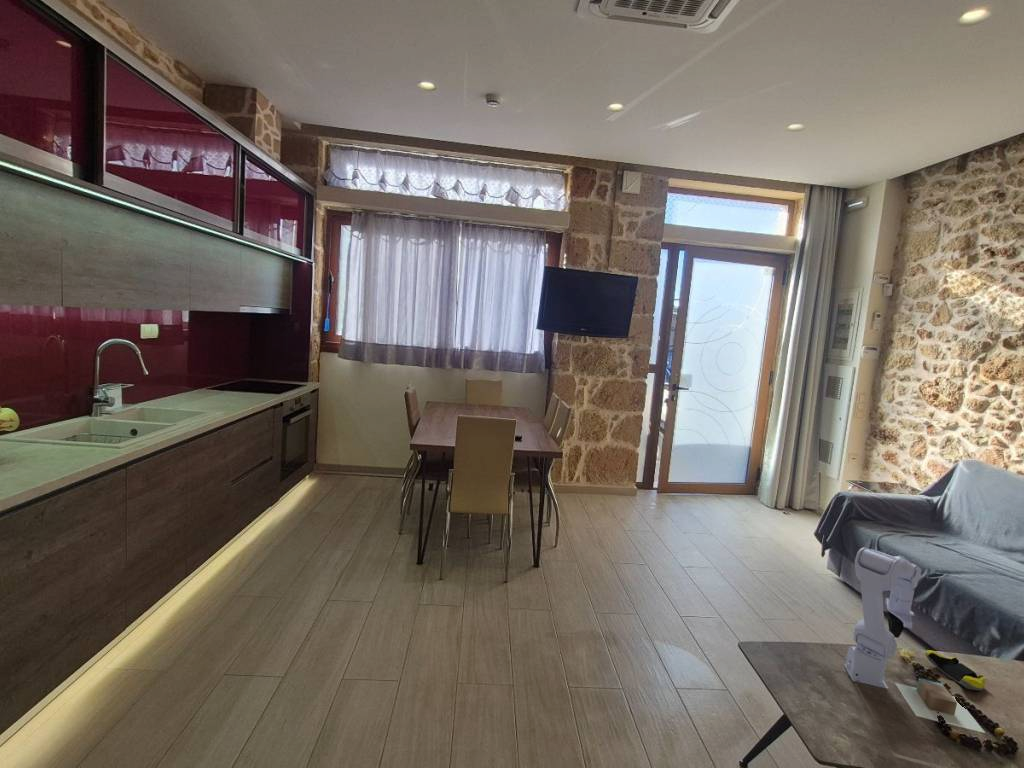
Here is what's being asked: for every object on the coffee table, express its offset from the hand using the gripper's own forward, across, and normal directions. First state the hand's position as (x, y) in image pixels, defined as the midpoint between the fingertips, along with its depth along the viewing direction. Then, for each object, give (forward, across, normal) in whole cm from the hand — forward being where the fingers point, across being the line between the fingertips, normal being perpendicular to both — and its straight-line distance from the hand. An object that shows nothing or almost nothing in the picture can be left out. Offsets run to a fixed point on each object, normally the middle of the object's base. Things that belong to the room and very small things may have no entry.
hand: (893, 636), depth 164 cm
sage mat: (+9, -19, -5) cm, 22 cm away
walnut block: (+7, -22, -5) cm, 23 cm away
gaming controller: (+10, -1, -18) cm, 20 cm away
